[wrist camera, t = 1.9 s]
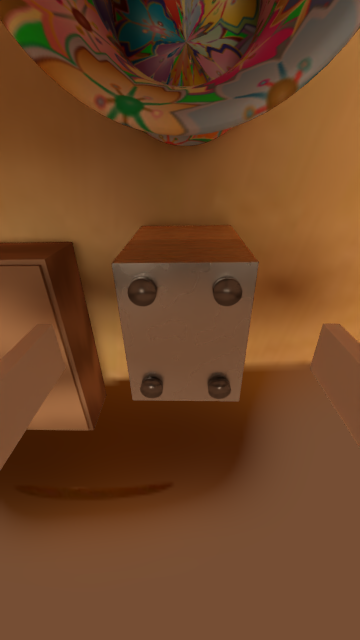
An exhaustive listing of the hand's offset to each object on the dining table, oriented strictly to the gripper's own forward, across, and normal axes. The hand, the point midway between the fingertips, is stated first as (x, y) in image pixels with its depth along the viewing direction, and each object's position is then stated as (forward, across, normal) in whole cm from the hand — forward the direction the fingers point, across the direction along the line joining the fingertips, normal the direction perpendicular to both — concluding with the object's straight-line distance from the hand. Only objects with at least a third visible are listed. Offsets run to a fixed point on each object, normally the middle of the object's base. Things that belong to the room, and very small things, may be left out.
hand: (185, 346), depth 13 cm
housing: (+8, 0, 0) cm, 8 cm away
